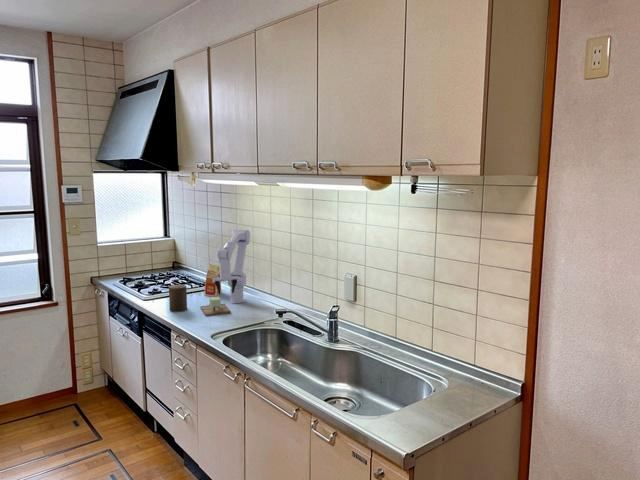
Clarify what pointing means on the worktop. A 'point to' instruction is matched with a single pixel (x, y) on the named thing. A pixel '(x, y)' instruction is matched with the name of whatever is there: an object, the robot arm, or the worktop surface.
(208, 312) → the cleat board
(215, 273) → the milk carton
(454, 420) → the worktop surface
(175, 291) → the pillar candle
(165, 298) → the worktop surface
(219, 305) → the saddle block
